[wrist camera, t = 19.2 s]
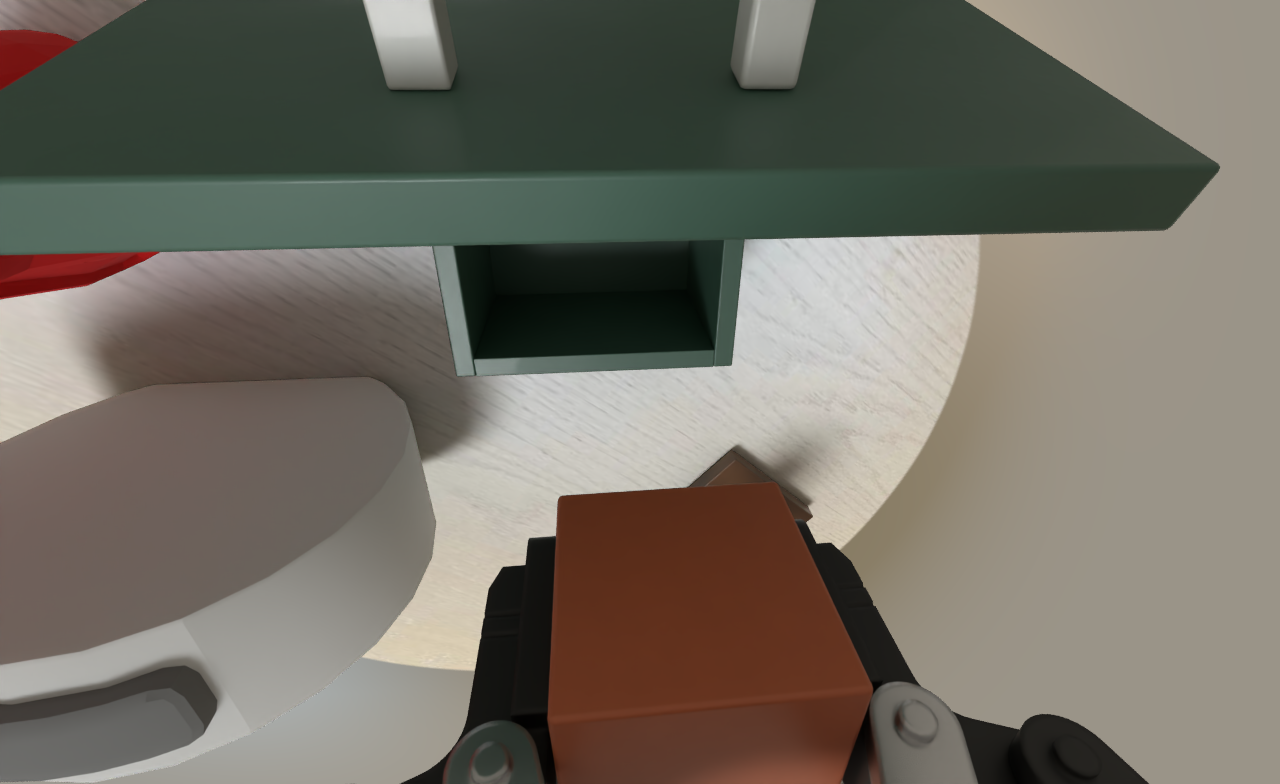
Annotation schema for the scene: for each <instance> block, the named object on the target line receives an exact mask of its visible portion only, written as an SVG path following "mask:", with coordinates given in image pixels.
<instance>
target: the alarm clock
mask: <svg viewBox="0 0 1280 784" xmlns="http://www.w3.org/2000/svg"><path fill="white" fill-rule="evenodd" d="M435 528H436V520H435V516H434V512H433V508H432V504H431V499H430V495H429V491H428V487H427V483H426V479H425V475H424V470H423V466H422V462H421V458H420V454H419V450H418V446H417V441H416V437H415V433H414V429H413V425H412V422H411V419H410V416H409V413H408V410H407V407H406V403H405V402H404V401H403V400H402V399H401V398H400V397H399V396H398V395H396V394H395V393H394V392H393V391H392V390H391V389H390V388H389V387H388V386H387V385H386V384H385V383H382V382H380V381H378V380H375V379H373V378H371V377H345V378H318V379H291V380H264V381H238V382H211V383H184V384H158V385H152V386H148V387H144V388H140V389H137V390H133V391H129V392H126V393H122V394H119V395H116V396H114V397H111V398H108V399H105V400H102V401H100V402H97V403H94V404H91V405H88V406H86V407H83V408H80V409H77V410H74V411H72V412H69V413H66V414H63V415H61V416H59V417H56V418H54V419H52V420H50V421H48V422H45V423H43V424H41V425H39V426H37V427H34V428H32V429H30V430H28V431H26V432H24V433H21V434H19V435H17V436H15V437H13V438H10V439H8V440H6V441H4V442H2V443H0V782H18V781H55V782H56V781H57V782H77V783H94V782H99V781H103V780H108V779H113V778H118V777H123V776H127V775H132V774H137V773H142V772H147V771H151V770H156V769H161V768H166V767H170V766H174V765H177V764H179V763H182V762H184V761H186V760H189V759H191V758H194V757H196V756H199V755H201V754H203V753H206V752H208V751H211V750H213V749H215V748H218V747H220V746H222V745H225V744H228V743H230V742H232V741H235V740H237V739H240V738H242V737H245V736H247V735H249V734H252V733H254V732H256V731H257V730H259V729H260V728H262V727H264V726H265V725H267V724H268V723H270V722H272V721H273V720H275V719H277V718H278V717H280V716H281V715H283V714H285V713H286V712H288V711H290V710H291V709H293V708H294V707H296V706H298V705H299V704H301V703H303V702H304V701H306V700H307V699H309V698H311V697H312V696H314V695H316V694H317V693H319V692H320V691H322V690H324V689H325V688H326V687H327V686H328V685H329V684H331V682H333V681H334V680H335V679H336V678H337V677H339V676H340V675H341V674H342V673H343V672H344V671H345V670H347V669H348V668H349V667H350V666H351V665H352V664H354V663H355V662H356V661H357V660H358V659H359V658H361V657H362V656H363V655H364V654H365V653H366V652H367V651H369V650H370V649H371V648H372V647H373V646H374V645H376V644H377V643H378V641H379V640H380V639H381V637H382V636H383V635H384V634H385V632H386V631H387V630H388V629H389V627H390V626H391V625H392V624H393V622H394V621H395V620H396V619H397V617H398V616H399V615H400V614H401V612H402V611H403V610H404V609H405V607H406V606H407V605H408V604H409V602H410V601H411V600H412V598H413V597H414V595H415V592H416V590H417V588H418V586H419V584H420V582H421V580H422V577H423V575H424V573H425V571H426V569H427V567H428V565H429V562H430V560H431V558H432V554H433V545H434V537H435Z"/></svg>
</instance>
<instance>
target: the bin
mask: <svg viewBox="0 0 1280 784" xmlns="http://www.w3.org/2000/svg"><path fill="white" fill-rule="evenodd" d="M432 248H433V253H434V259H435V264H436V269H437V275H438V280H439V285H440V291H441V296H442V302H443V307H444V312H445V318H446V323H447V328H448V334H449V339H450V345H451V350H452V355H453V361H454V366H455V371H456V376H457V377H462V376H476V375H477V376H493V375H518V374H543V373H567V372H592V371H617V370H641V369H666V368H691V367H713V366H731V365H732V358H733V348H734V338H735V328H736V318H737V308H738V298H739V288H740V278H741V268H742V258H743V248H744V239H740V240H693V241H646V242H599V243H552V244H505V245H458V246H432Z"/></svg>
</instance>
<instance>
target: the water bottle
mask: <svg viewBox="0 0 1280 784" xmlns="http://www.w3.org/2000/svg"><path fill="white" fill-rule="evenodd" d="M76 43H78V42H77V41H74V40H72V39H69V38H66V37H64V36H61V35H59V34H54V33H47V32H39V31H32V30H0V90H2V89H3V88H5V87H7V86H8V85H10V84H11V83H13V82H15V81H16V80H18V79H20V78H21V77H23V76H24V75H26V74H28V73H29V72H31V71H33V70H34V69H36V68H37V67H39V66H41V65H42V64H44V63H46V62H47V61H49V60H50V59H52V58H54V57H55V56H57V55H58V54H60V53H62V52H63V51H65V50H67V49H68V48H70V47H71V46H73V45H75V44H76ZM158 253H159V252H130V253H83V254H36V255H0V299H5V298H11V297H18V296H24V295H31V294H37V293H44V292H50V291H57V290H63V289H70V288H76V287H83V286H88V285H90V284H93V283H95V282H97V281H100V280H102V279H104V278H106V277H109V276H111V275H113V274H116V273H118V272H120V271H123V270H125V269H127V268H129V267H132V266H134V265H136V264H138V263H141V262H143V261H145V260H147V259H149V258H150V257H152V256H154V255H156V254H158Z"/></svg>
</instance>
